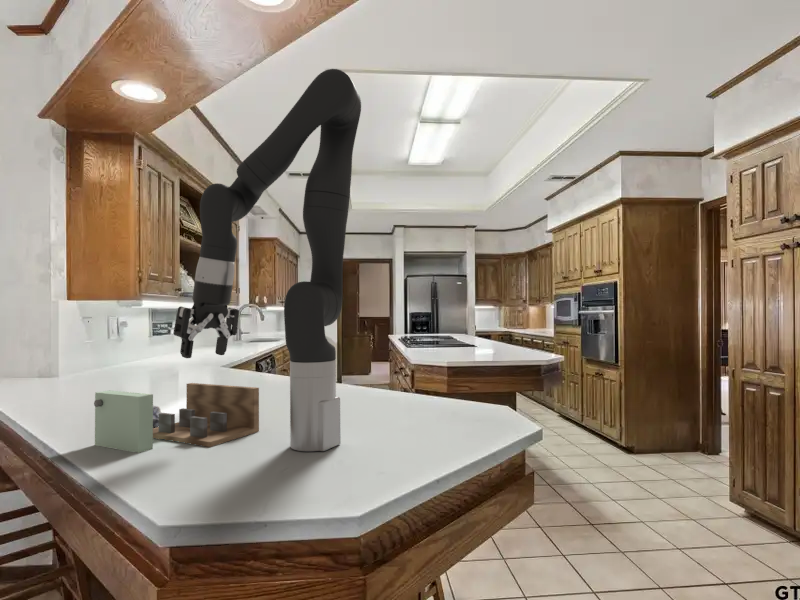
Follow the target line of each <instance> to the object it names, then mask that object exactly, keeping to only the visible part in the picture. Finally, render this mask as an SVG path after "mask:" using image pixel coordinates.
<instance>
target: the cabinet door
mask: <svg viewBox="0 0 800 600" xmlns="http://www.w3.org/2000/svg"><path fill="white" fill-rule="evenodd" d="M93 405H94V446H95V447H96V446H98V447H104V448H109V449H115V450H120V451H126V452H131V453H136V454H137V453H138V454H140V453H144V452H147V451H150V449H151V450H153V449H154V447H153V446H154V444H153V443H154V442H153V441H154V438H153V428H154V427H153V405H154V394H152V393H141V392H133V391H132V392H131V391H130V392H129V391H121V390H103V391H97V392H95V393H94V402H93Z"/></svg>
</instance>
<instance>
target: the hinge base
mask: <svg viewBox="0 0 800 600" xmlns="http://www.w3.org/2000/svg"><path fill="white" fill-rule="evenodd" d="M178 412H179V414H178V415H179V416H178V419H179V421H178V422H176V420H175V419H176V418H175V416H176V415H175V414H176V413H167V412H166V413H165V412H161V413H159V426H158V427H155V428H154V427H153V439H154V438H156V439H155V440H160V439H165V440H164V441H167V440H173V441H172V442H174V441H179V442H178V443H180V442H185V443H184V444H187V443H191V444H190V445H194V444H196V445H195V446H200V445H202V447H207V448H212V447H215V446H218V445H221V444H224V443H228V442H229V441H233V440H237V439H240V438H243V437H246V436H249V435H252V434H256V433H258V432H260V387H256V386H253V387H251V386H241V385H226V384H211V383H198V382H197V383H196V382H189V383H186V408H179V410H178Z"/></svg>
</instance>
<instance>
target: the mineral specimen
mask: <svg viewBox="0 0 800 600" xmlns="http://www.w3.org/2000/svg"><path fill="white" fill-rule="evenodd" d="M159 413H162V411H161V408H160V406H158V405H154V404H153V428H154V427H155V428H157V427H159Z"/></svg>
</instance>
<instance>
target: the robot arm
mask: <svg viewBox="0 0 800 600" xmlns="http://www.w3.org/2000/svg"><path fill="white" fill-rule="evenodd" d="M361 101H362V100H361V97H360V94H359V92H358V89H357V88H356V86H355V83H354V81H353V80H352V79H351V76H350V75H348V73H346V72H345V71H343V70H341V69H338V68H328V69H325V70H324V71H322V72H320V73H319V74H317V76H316V77H315V78H314V79H313V80H312V82H310V84H309V85H308V87H307V88H306V89H305V90H304V92H303V93H302V95H301V96H300V97H299V98H298V100H297V102H296V103H295V104H294V105H293V106H292V108H291V109H290V110H289V111H288V112H287V114H286V116H285V117H284V118H283V119H282V121H280V123H279V124H278V125H277V126H276V128H275V129H274V130H273V131H272V132H271V133H270V135H269V136H268V137H266V139H265V140H263V142H262V143H261V144H259V146H258V147H256V149H254V150H253V151H252V152H251V153H250V154H249V155H248V156H247V157H246V158H245V159H244V160H242V162H241V163H240V164H238V166H237V168H236V174H237V177H236V178H235V180H234V181H233V183H232V184H231V185H230V186H228V185H226V184H223V183H218V182H217V183H212V184H210V185H208V186H207V187H206V188H205V189H204V191H203V193H202V195H201V198H200V201H199V217H200V228H201V234H202V235H201V236H202V238H201V244H200V248H199V249H200V250H199V259H198V260H197V265H196V269H195V275H194V284H193V290H192V301H193V305H192V307H191V308H190V307H189V308H188V307H185V306H181V305H180V306H179V307H178V308H177V312H176V318H175V323H174V326H173V327H174V328H173V335H174V336H176V337H179V338H180V339H181V344H180V355H181V356H182V358H185V359H191V358H192V355H193V347H194V339H195V338H196V336H197V335H198V334H199V333H201V332H202V331H203V330H208V329H214V330H215V331H216V333H217V335H218V336H217V337H216V343H215V344H216V346H215V352H214V353H215V354H216V355H218V356H224V355H225V353H226V352H227V349H228V342H229V339H230V337H232V336H236V335H237V334H238V325H239V318H240V317H239V313H240V310H239V309H238V308H235V307H231V306H230V307H228V306H229V305H230V304H231V301H232V300H231V299H232V293H233V286H234V279H235V264H236V257H237V256H236V255H237V248H238V238H237V237H236V236H235V234H234V233H233V223H234V222H237V221H239V220H241V219H243V218H244V217H246V216H247V215H248V214H249V212H251V211H252V209H253V208H254V207H255V205H256V204H257V202H258V201H259V200H260V198H261V196H262V195H263V193H264V192H265V191H266V190H267V189H269V187H270V186H271V185H273V184H274V183H275V182H276V181H277V180H278V179H279V178H280V177H281V176H282V175H283V174H284V173H285V172H286V171H287V170H288V169H289V167H290V166H291V165H292V163H293V162H294V160H295V158H296V156H297V155H298V153H299V151H300V150H301V148H302V146H303V144H305V142H306V141H307V139H309V137H310V135H312V133H313V132H315V131H316V130H317V129H318V128H319V127H320V132H319V133H320V135H319V148H318V152H317V155H316V158H315V160H314V162H313V165H312V167H311V169H310V171H309V174H308V177H307V180H306V184H305V188H304V197H303V206H302V221H303V225H304V230H305V234H306V237H307V241H308V243H309V248H310V252H311V272H310V279H309V281H306V280H305V281H299V282H296V283H294V284H293V285H291V286H290V288H289V289H288V290H287V292H286V295H285V299H284V305H283V317H284V318H283V319H284V335H285V345H286V348H287V350H288V353H289V415H290V416H289V428H290V433H289V434H290V435H289V438H290V443H289V445H290V448H291V449H292V450H294V451H298V452H326V451H327V450H330V449H331V448H335V447H337V446H339V445H340V444H342V443H341V442H342V441H341V439H342V437H341V435H342V434H341V398H340V397H339V396H337V378H336V377H337V374H336V373H337V372H336V371H337V369H336V368H337V364H336V362H337V360H336V359H337V351H336V347H335V346H334V345H333V344H332V343H330V342H329V341H328V339H327V337H326V329H325V327H328V326H330V325H332V324H334V323H335V322H336V321H337V320H338V318H339V316H340V314H341V311H342V308H343V307H342V306H343V296H344V295H343V293H344V292H343V284H344V283H343V280H344V279H343V278H344V277H343V273H344V270H343V264H344V254H345V245H346V244H345V243H346V231H347V223H348V216H349V210H350V209H349V208H350V198H351V186H352V185H351V184H352V173H353V171H352V170H353V153H354V152H353V151H354V146H355V140H356V137H357V131H358V127H359V122H360V118H361V112H362V102H361Z"/></svg>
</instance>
